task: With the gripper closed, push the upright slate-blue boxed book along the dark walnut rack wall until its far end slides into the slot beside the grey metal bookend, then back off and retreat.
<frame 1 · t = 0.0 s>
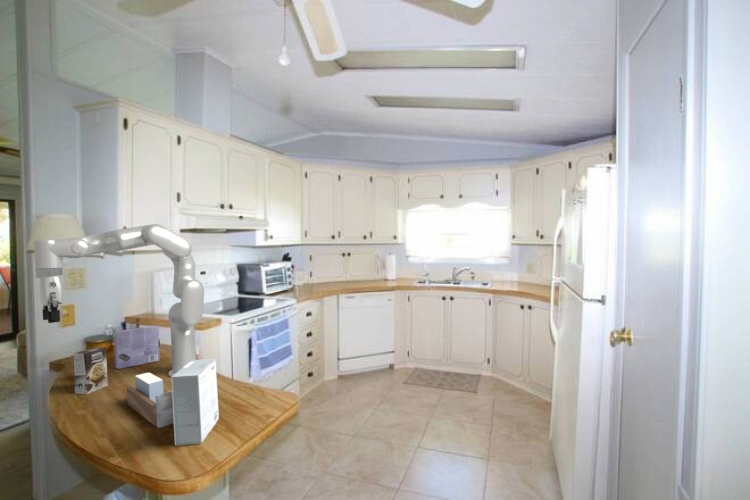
hand: (51, 320, 137), 31 cm above the table, fingers open, 9 cm apart
cake pan box: (139, 364, 187), on the table
coffee box: (91, 390, 154), on the table
boxed book: (149, 405, 136), on the table
hard drive box: (198, 432, 115), on the table
book rack: (156, 409, 132), on the table
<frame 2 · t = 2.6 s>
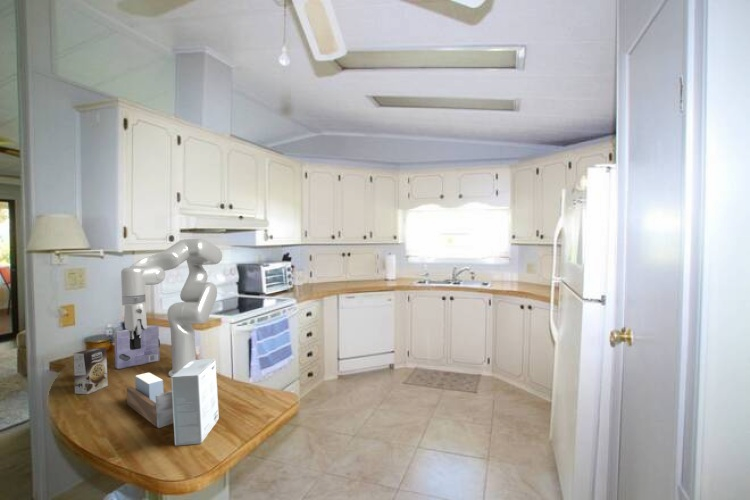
hand: (135, 348, 143), 19 cm above the table, fingers closed
nothing on the table moved.
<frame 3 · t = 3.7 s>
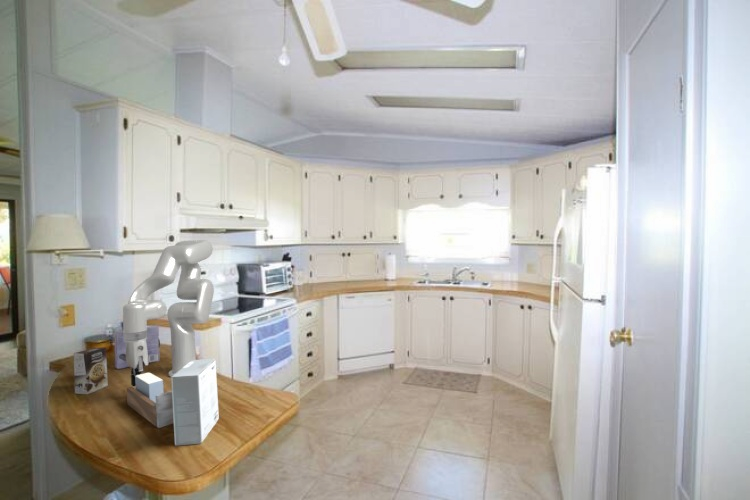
hand: (136, 384, 144), 5 cm above the table, fingers closed
nothing on the table moved.
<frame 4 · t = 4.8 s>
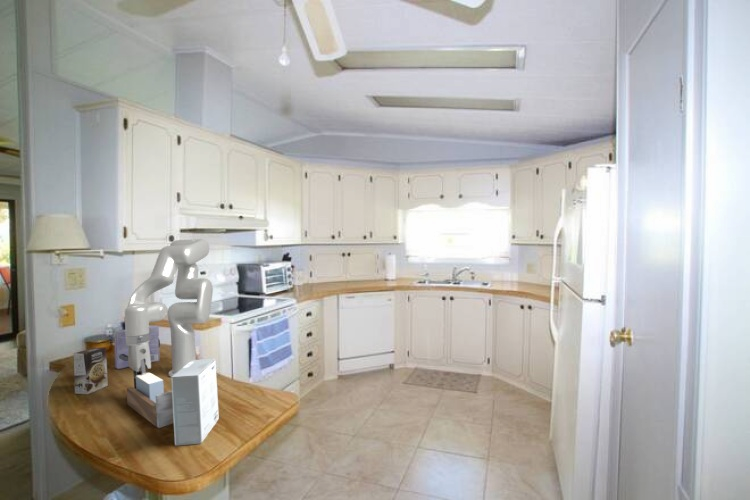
hand: (139, 387, 142), 4 cm above the table, fingers closed
boxed book: (150, 405, 136), on the table, touching gripper
everything else where it was.
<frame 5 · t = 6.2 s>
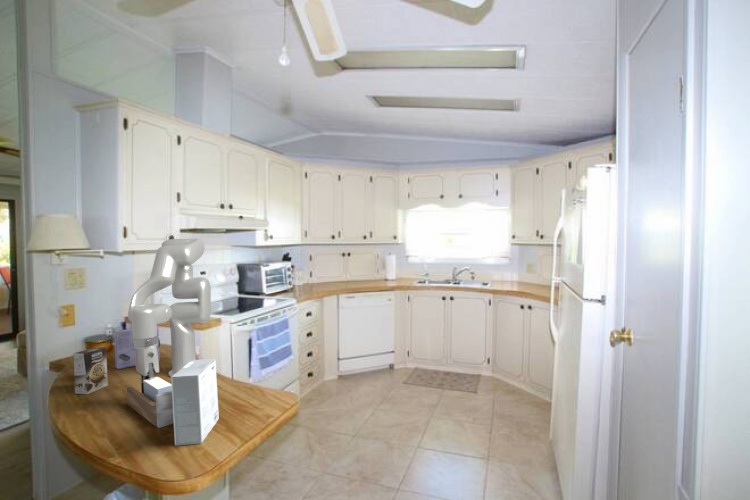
hand: (147, 392, 137), 4 cm above the table, fingers closed
boxed book: (158, 411, 131), on the table, touching gripper
everything else where it was.
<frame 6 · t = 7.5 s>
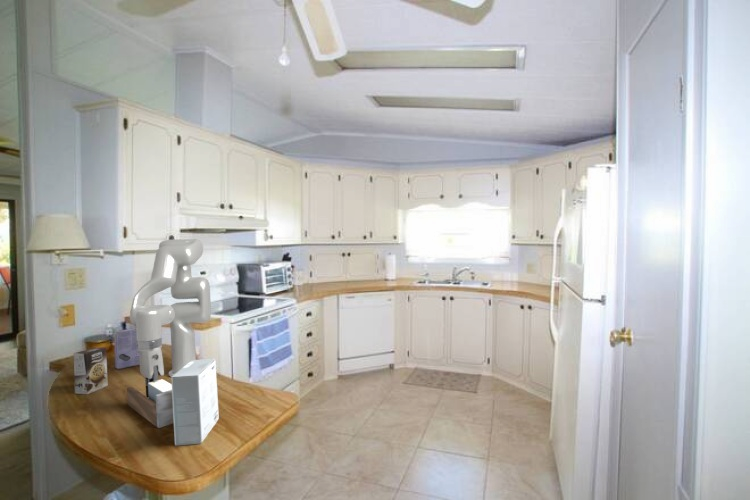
hand: (151, 395, 135), 4 cm above the table, fingers closed
boxed book: (163, 415, 128), on the table, touching gripper
everything else where it was.
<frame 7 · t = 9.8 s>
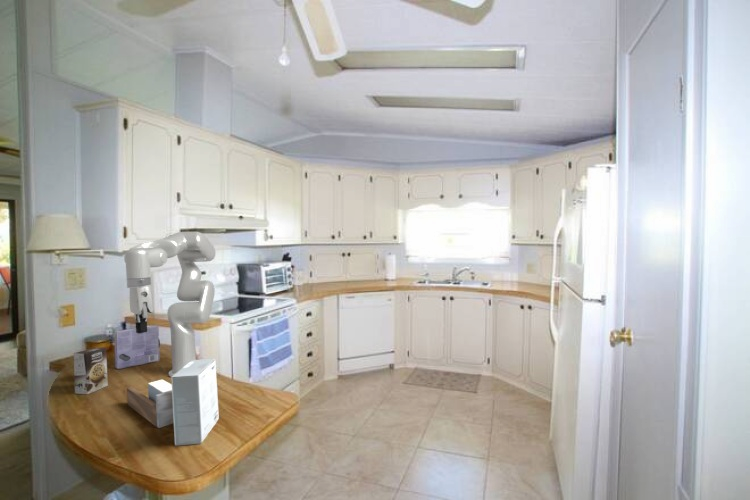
hand: (141, 332, 140), 25 cm above the table, fingers closed
boxed book: (163, 415, 128), on the table
everything else where it was.
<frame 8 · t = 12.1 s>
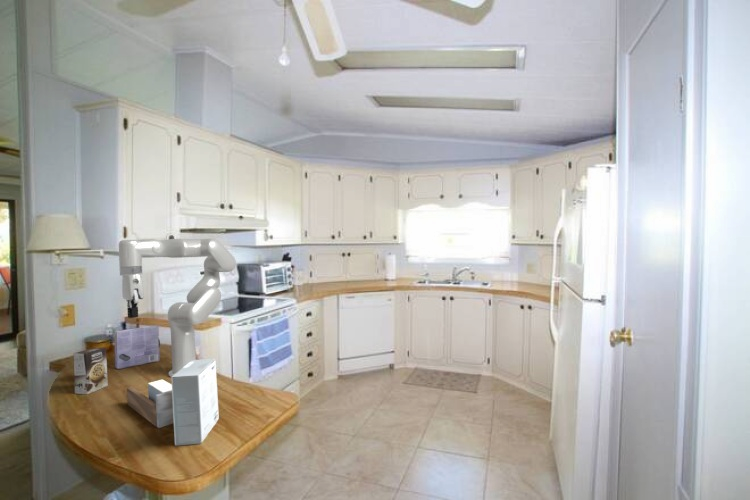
hand: (133, 317, 151), 29 cm above the table, fingers closed
nothing on the table moved.
at the end: boxed book inside the target area (2.0 cm from its centre), on the table; boxed book tilted 0°; boxed book moved 12.7 cm from its start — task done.
